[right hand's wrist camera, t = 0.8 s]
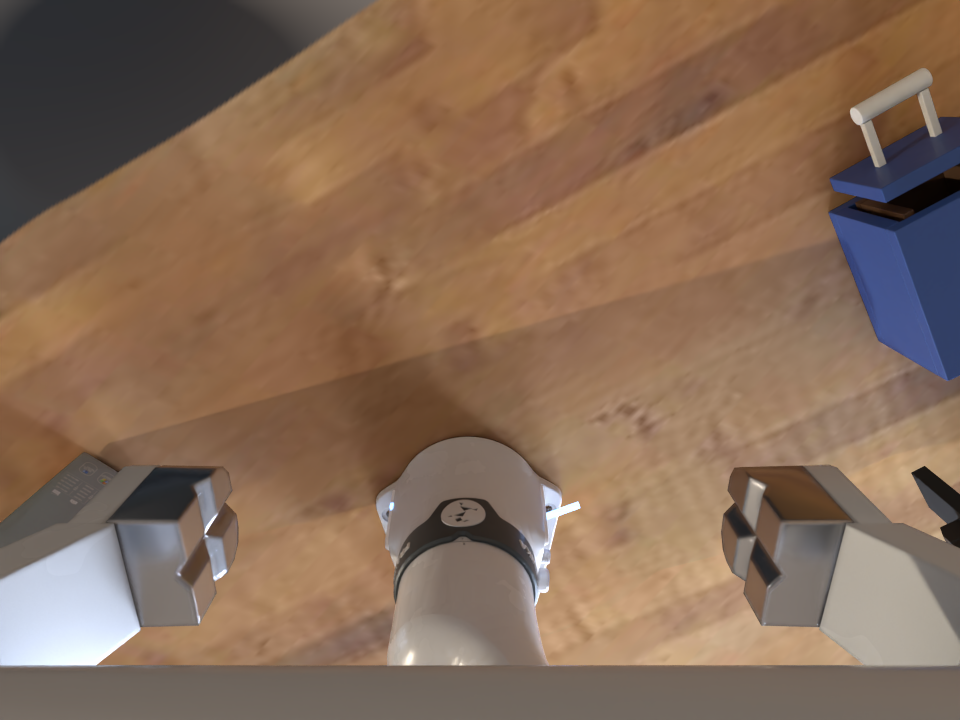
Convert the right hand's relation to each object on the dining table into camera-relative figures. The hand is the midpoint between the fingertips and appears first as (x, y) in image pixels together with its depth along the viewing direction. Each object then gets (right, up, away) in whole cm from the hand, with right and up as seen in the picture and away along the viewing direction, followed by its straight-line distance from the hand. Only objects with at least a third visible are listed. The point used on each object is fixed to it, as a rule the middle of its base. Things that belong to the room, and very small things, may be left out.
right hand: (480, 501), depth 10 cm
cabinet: (+38, +12, +45) cm, 60 cm away
